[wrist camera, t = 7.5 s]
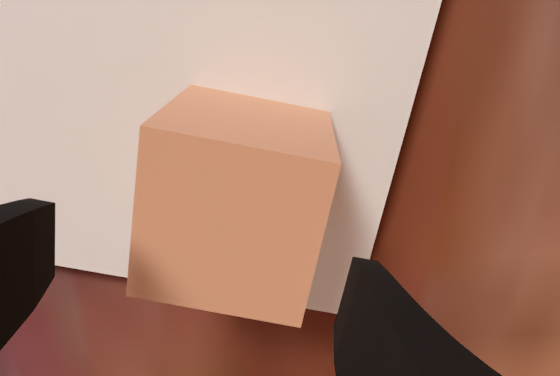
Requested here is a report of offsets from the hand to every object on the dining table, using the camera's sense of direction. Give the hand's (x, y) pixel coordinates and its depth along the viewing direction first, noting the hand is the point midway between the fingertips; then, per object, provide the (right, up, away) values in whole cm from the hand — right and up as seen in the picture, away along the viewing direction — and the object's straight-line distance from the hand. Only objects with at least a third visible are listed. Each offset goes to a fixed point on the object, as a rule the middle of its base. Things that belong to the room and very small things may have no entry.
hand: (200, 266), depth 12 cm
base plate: (-2, +6, +9) cm, 11 cm away
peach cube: (+1, +3, +9) cm, 9 cm away
